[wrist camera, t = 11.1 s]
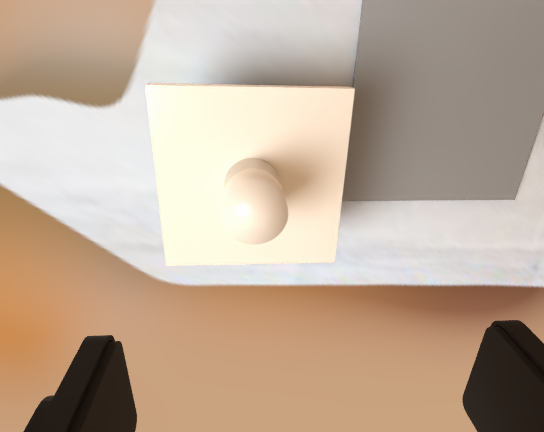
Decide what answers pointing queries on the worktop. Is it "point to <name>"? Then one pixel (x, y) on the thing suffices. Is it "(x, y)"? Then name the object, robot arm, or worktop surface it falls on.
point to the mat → (445, 99)
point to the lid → (249, 171)
